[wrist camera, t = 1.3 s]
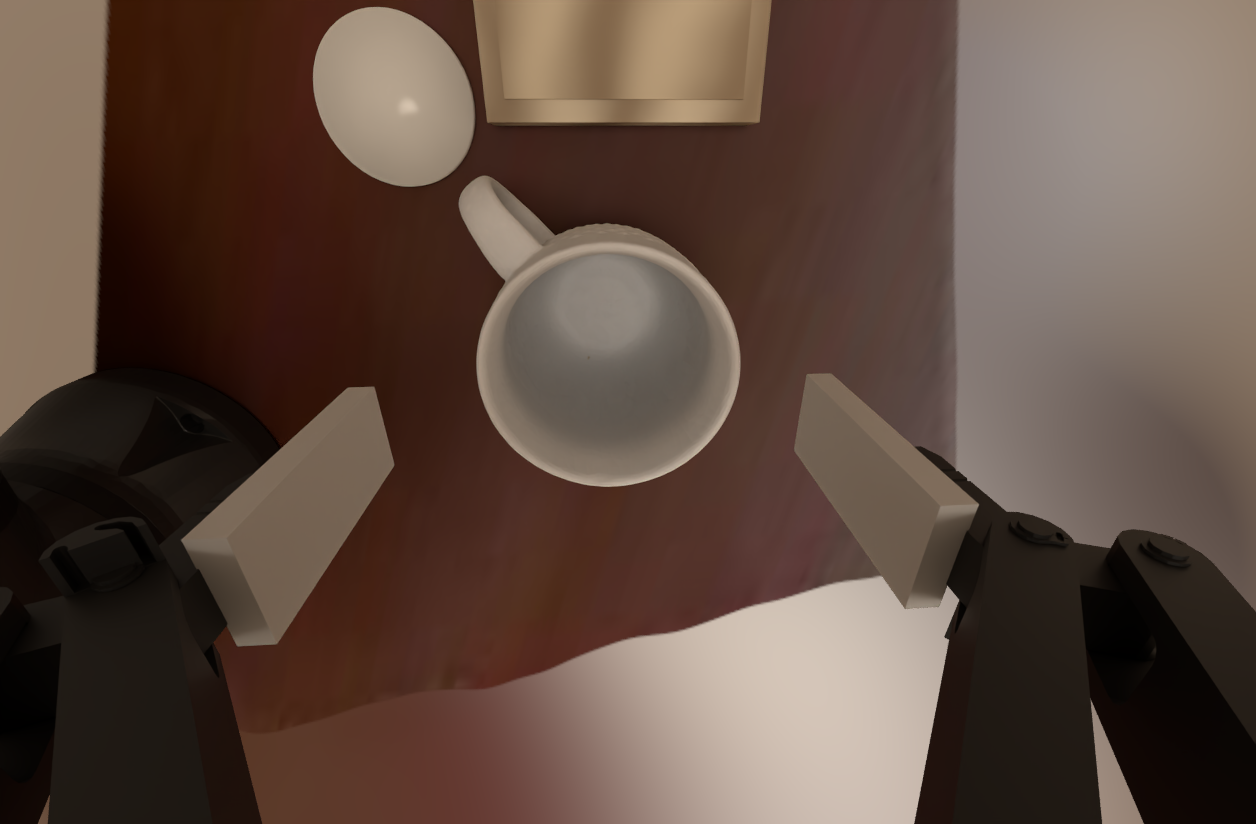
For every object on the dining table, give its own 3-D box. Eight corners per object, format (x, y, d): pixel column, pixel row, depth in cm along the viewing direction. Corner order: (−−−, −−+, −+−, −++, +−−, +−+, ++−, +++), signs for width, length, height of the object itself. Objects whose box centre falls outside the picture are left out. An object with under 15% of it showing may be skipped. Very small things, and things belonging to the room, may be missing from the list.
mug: (431, 246, 30) (329, 300, 18) (562, 107, 27) (540, 64, 15) (599, 408, 35) (602, 528, 24) (721, 307, 33) (793, 386, 21)
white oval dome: (344, 186, 28) (337, 187, 27) (302, 11, 25) (292, 6, 24) (486, 185, 29) (482, 185, 28) (464, 13, 25) (460, 7, 24)
